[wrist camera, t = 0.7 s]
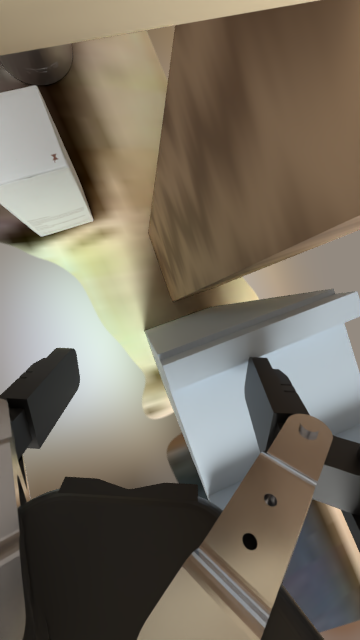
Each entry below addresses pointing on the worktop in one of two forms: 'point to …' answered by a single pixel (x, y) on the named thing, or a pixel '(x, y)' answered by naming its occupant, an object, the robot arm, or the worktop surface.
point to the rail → (107, 18)
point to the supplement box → (37, 166)
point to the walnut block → (257, 142)
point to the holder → (231, 367)
